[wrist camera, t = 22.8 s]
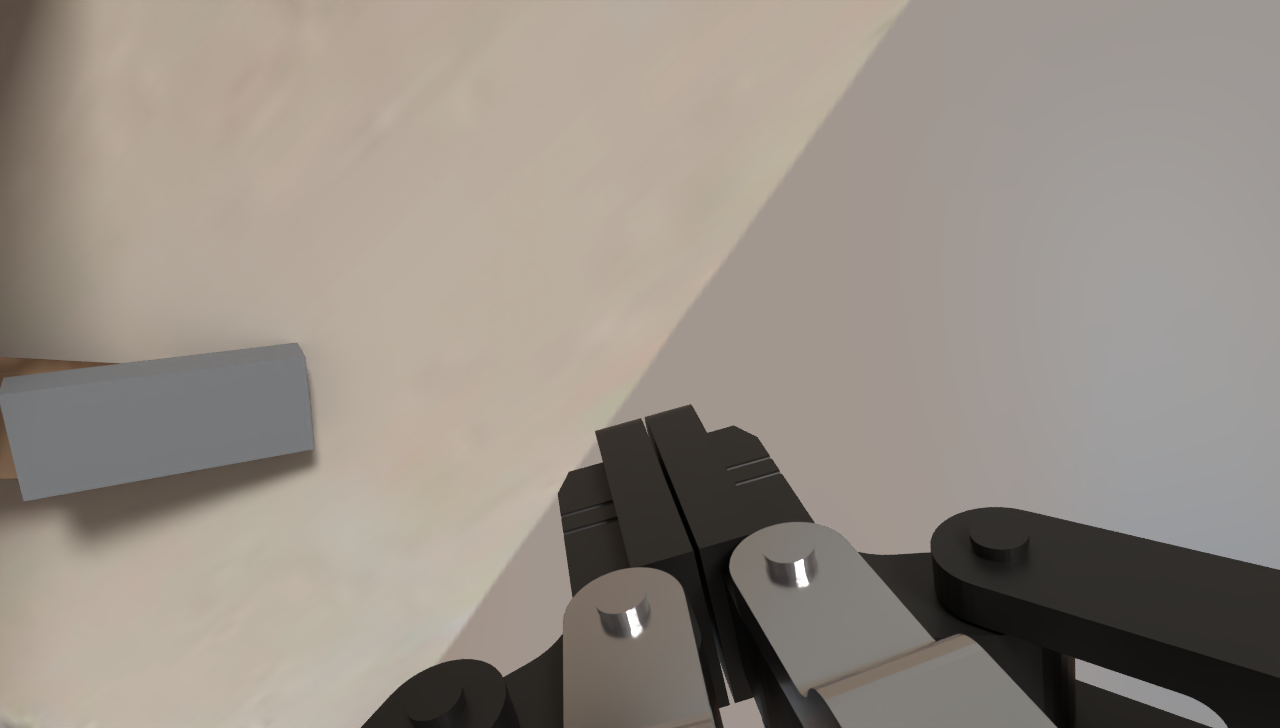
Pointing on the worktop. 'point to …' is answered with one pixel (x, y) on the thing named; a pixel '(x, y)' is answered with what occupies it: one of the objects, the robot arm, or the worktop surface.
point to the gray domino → (155, 418)
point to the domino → (3, 463)
